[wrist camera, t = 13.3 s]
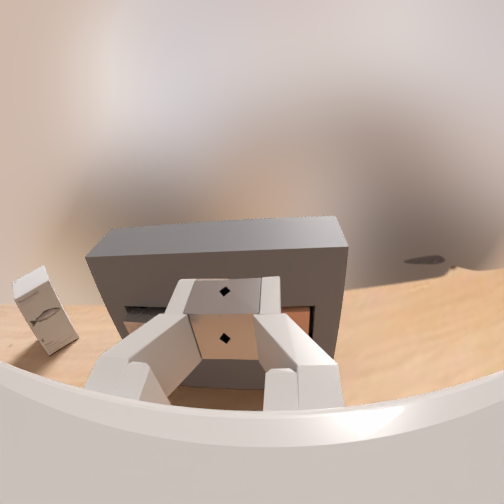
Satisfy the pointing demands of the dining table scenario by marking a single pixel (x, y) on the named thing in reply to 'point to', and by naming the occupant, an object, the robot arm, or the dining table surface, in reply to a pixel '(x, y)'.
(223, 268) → the panel
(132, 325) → the grey button
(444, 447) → the robot arm
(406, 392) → the dining table surface
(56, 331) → the supplement box
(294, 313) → the button terracotta
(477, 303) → the dining table surface
